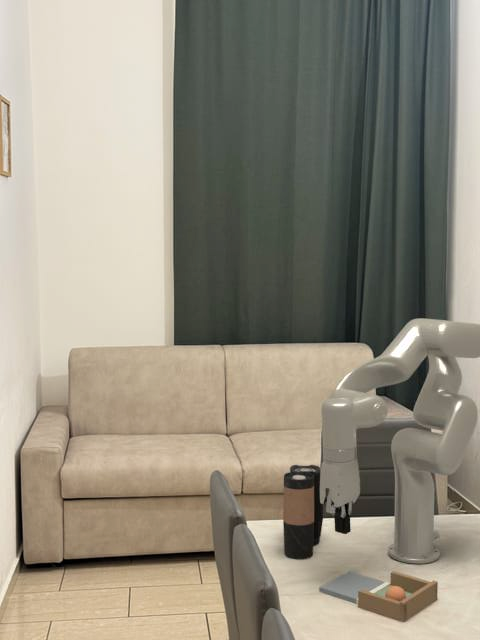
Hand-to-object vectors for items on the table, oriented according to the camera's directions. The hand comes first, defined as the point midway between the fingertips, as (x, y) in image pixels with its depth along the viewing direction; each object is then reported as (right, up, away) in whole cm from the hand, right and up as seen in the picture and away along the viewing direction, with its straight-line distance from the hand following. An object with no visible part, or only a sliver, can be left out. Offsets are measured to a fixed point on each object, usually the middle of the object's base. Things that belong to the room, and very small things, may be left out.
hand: (342, 531), depth 193 cm
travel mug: (-9, -10, +19) cm, 23 cm away
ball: (+10, -11, -12) cm, 19 cm away
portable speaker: (-6, -10, +27) cm, 30 cm away
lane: (+7, -13, -6) cm, 15 cm away
